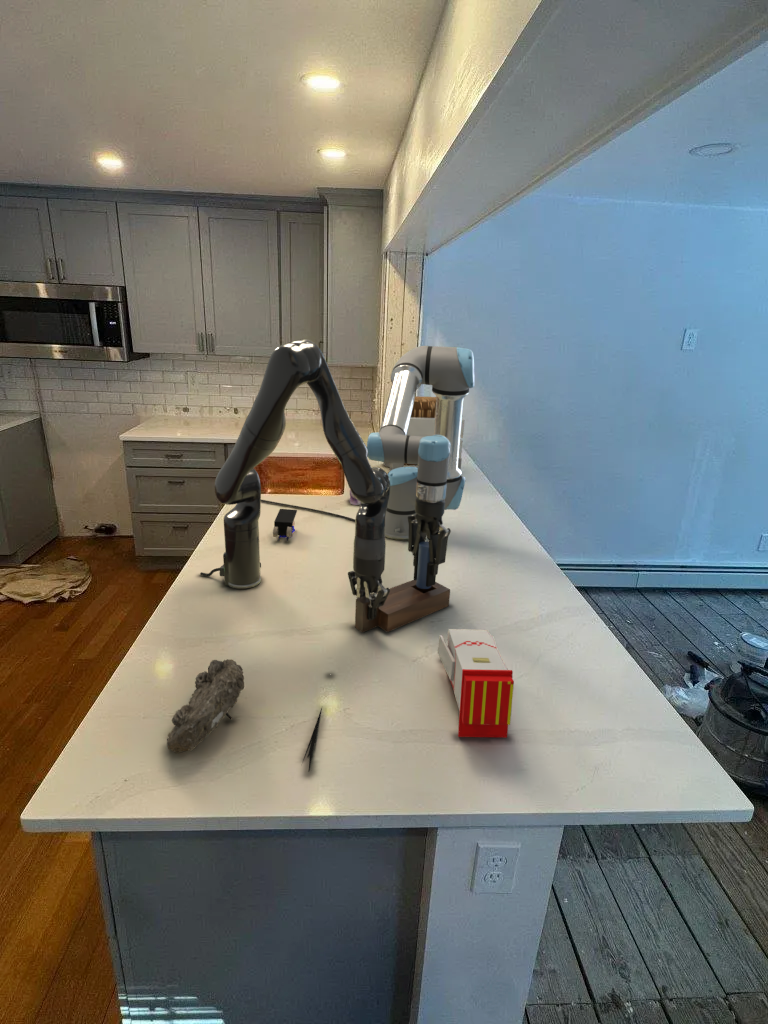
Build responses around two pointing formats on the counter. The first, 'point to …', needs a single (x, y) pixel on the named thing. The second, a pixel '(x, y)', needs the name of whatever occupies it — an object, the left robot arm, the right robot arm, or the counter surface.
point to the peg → (423, 564)
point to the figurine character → (284, 523)
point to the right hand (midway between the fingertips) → (424, 581)
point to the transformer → (424, 425)
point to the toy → (478, 682)
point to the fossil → (206, 705)
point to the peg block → (402, 606)
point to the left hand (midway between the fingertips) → (367, 615)
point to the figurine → (353, 499)
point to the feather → (313, 740)
